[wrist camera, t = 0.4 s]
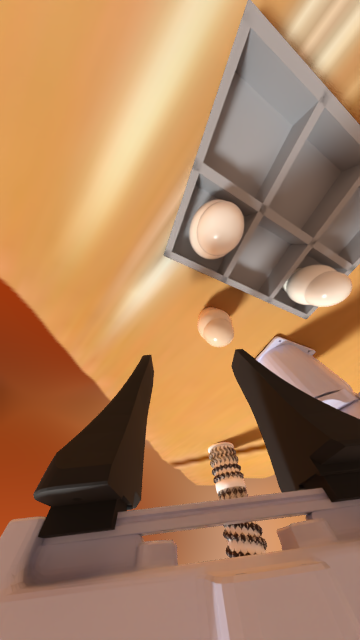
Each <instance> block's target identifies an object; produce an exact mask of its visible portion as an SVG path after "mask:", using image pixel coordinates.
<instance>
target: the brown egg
mask: <svg viewBox="0 0 360 640" xmlns="http://www.w3.org/2000/svg"><path fill="white" fill-rule="evenodd" d="M198 331H199V333H200V335H201V336H202V337H203V338H204V339H205V340H206V341H207V342H208V343H209V344H210V345H212V346H215V347H224V346H226V345H228V344H229V343H230V342H231V341H232V339H233V337H234V328H233V325H232V320H231V318H230V316H229V315H228V314H227V313H226V312H225V311H223V310H220V309H217V308H215V307H207V308H205V309H203V310H202V311H201V313H200V314H199V320H198Z"/></svg>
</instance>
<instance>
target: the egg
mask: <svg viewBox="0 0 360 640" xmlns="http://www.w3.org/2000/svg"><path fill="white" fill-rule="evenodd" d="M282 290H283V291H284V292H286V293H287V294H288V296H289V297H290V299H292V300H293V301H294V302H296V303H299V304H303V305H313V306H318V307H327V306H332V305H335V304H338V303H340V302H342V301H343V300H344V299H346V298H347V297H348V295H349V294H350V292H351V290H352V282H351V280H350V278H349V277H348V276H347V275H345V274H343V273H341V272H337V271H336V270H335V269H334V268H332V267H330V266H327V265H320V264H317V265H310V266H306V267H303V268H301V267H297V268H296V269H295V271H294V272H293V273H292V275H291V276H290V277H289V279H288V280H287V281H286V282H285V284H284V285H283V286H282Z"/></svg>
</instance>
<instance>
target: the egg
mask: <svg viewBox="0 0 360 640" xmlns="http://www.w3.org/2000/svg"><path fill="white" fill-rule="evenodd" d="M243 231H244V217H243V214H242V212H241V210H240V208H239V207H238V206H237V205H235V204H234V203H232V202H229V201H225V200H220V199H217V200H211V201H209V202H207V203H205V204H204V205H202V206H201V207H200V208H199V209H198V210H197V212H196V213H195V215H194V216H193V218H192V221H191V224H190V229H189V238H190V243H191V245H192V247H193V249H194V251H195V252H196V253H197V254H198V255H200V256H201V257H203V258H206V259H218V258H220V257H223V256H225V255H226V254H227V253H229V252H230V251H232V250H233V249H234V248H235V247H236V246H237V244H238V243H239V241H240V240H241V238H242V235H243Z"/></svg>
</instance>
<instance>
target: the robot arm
mask: <svg viewBox="0 0 360 640" xmlns="http://www.w3.org/2000/svg"><path fill="white" fill-rule="evenodd" d="M315 352H316V351H315V350H313V349H311V348H308V347H305V346H303V345H300V344H297V343H295V342H292V341H289V340H287V339H284V338H281V337H279V336H277V337H275V338H274V339H273V340H272V341H271V342H270V343H269V344H268V345H267V347H266V348H265V349H264V350H263V351H262V352H261V353H260V354H259V355H258V357H257V358H256V359H254V358H253V357H252V356H251V355H249V354H248V353H247V352H246V351H244V350H243V349H237V350H235V354H234V358H233V362H232V369H233V372H234V375H235V377H236V380H237V382H238V384H239V386H240V388H241V389H242V391H243V393H244V395H245V397H246V399H247V401H248V403H249V405H250V407H251V409H252V412H253V414H254V416H255V419H256V421H257V424H258V426H259V429H260V432H261V434H262V437H263V439H264V442H265V445H266V448H267V451H268V454H269V456H270V459H271V462H272V465H273V469H274V472H275V475H276V477H277V481H278V484H279V487H280V489H281V492H282V493H275V494H266V495H258V496H249V497H241V498H233V499H224V500H217V501H208V502H200V503H191V504H182V505H174V506H166V507H157V508H149V509H141V510H133V511H127V510H131V509H133V508H136V507H137V505H138V503H139V502H140V500H141V490H142V474H143V460H144V447H145V435H146V424H147V416H148V409H149V404H150V398H151V393H152V387H153V377H154V370H153V364H152V358H151V355H144V356H143V357H142V358H141V360H140V362H139V364H138V365H137V367H136V369H135V370H134V372H133V373H132V375H131V376H130V378H129V379H128V380H127V382H126V383H125V385H124V386H123V387H122V389H121V390H120V391H119V392H118V394H117V395H116V396H115V397H114V398H113V400H112V401H111V402H110V403H109V404H108V405H107V406H106V407H105V408H104V410H103V411H102V412H101V413H100V414H99V415H98V416H97V417H96V418H95V419H94V420H93V421H92V422H91V423H90V424H89V425H88V426H87V427H85V429H83V430H82V431H81V432H80V433H79V434H78V435H77V436H76V437H75V438H73V439H72V440H71V441H70V442H69V443H68V444H67V445H65V446H64V447H63V448H62V449H61V450H60V451H58V452H57V453H56V455H55V457H54V458H53V460H52V461H51V463H50V465H49V466H48V468H47V470H46V472H45V474H44V476H43V477H42V479H41V481H40V483H39V485H38V487H37V489H36V490H35V492H34V498H35V500H37V501H39V502H41V503H44V504H46V505H49V506H51V508H50V510H49V513H48V515H47V517H31V518H23V519H15V520H12V521H10V522H9V524H8V526H7V527H6V529H5V531H4V533H3V534H2V536H1V538H0V640H360V392H359V393H358V394H357V393H355V392H353V390H352V388H351V387H350V386H349V385H348V384H347V383H346V382H345V381H344V380H343V379H342V378H340V377H339V376H338V375H336V374H335V373H334V372H332V371H331V370H330V369H329V368H327V367H326V366H325V365H323V364H322V363H321V362H320V361H318V360H317V359H316V358H314V357H313V356H312V355H313V354H314V353H315ZM299 515H306V521H303V522H297V523H293V524H290V525H289V526H286V527H283V528H280V529H277V534H278V537H279V539H280V542H281V545H282V551H276V552H269V553H262V554H255V555H248V556H240V557H233V558H227V559H219V560H213V561H205V562H198V563H191V564H185V565H178V563H177V545H176V543H174V542H173V540H160V541H148V542H144V539H143V538H142V536H144V535H152V534H159V533H167V532H175V531H182V530H191V529H198V528H206V527H214V526H222V525H230V524H237V523H245V522H253V521H261V520H268V519H276V518H284V517H291V516H299Z"/></svg>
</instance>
